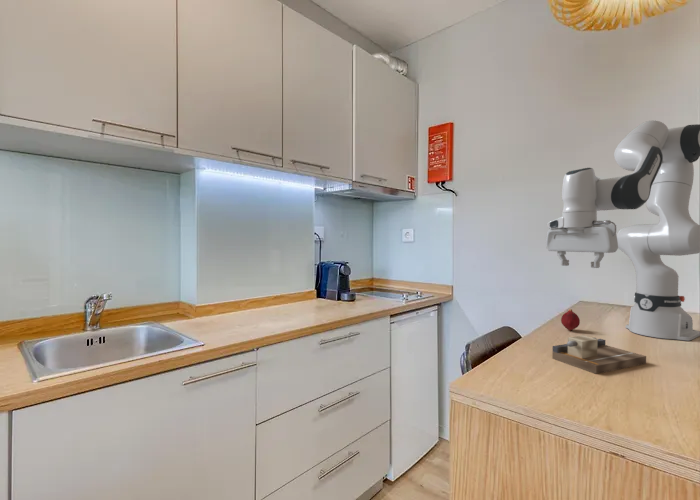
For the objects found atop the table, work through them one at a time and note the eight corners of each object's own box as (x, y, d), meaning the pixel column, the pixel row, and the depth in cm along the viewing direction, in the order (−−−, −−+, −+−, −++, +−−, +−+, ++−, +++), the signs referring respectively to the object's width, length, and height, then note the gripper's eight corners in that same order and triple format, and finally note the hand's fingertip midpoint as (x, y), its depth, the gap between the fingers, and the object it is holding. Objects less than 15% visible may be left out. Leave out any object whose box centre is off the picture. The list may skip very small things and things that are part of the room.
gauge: (587, 350, 98) (587, 334, 97) (602, 354, 94) (602, 338, 94) (562, 354, 94) (562, 338, 94) (576, 359, 90) (577, 342, 90)
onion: (582, 333, 123) (583, 311, 123) (564, 332, 124) (565, 310, 124) (575, 329, 129) (575, 307, 128) (558, 328, 130) (558, 307, 130)
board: (600, 350, 104) (600, 338, 104) (646, 363, 93) (646, 350, 93) (552, 358, 97) (552, 346, 97) (596, 373, 86) (596, 360, 86)
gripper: (623, 219, 97) (623, 268, 98) (556, 223, 116) (556, 263, 117) (608, 220, 95) (608, 270, 95) (542, 223, 114) (543, 265, 114)
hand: (579, 266), depth 106 cm, fingers open, 8 cm apart
